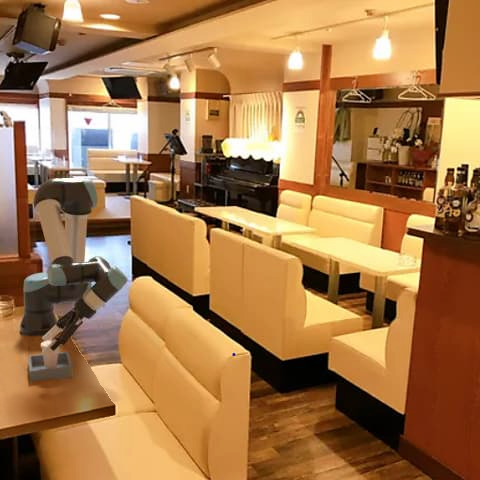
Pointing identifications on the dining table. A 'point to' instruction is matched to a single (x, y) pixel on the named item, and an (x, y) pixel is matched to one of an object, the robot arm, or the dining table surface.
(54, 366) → the smoothie
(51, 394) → the dining table surface
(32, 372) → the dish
